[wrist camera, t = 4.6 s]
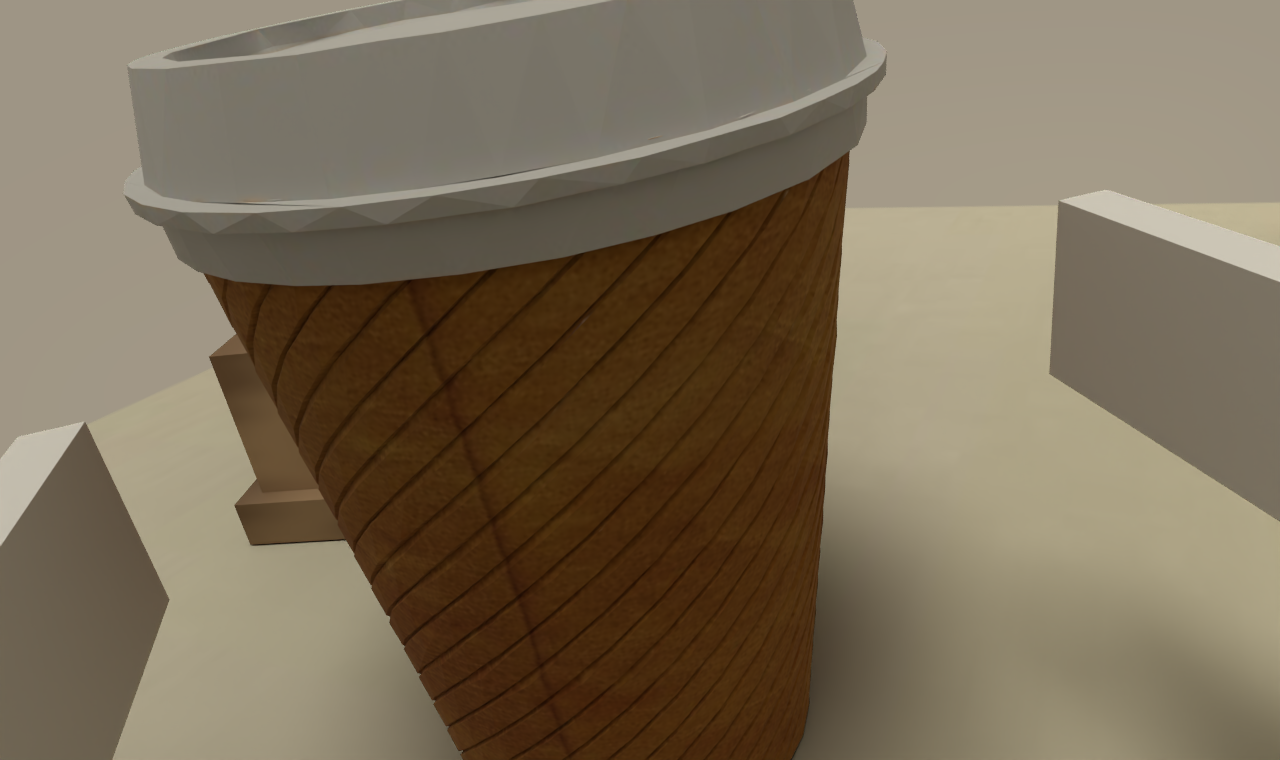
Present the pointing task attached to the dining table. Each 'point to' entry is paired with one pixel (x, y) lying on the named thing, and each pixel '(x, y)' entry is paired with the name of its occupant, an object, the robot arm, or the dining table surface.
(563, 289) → the disposable coffee cup
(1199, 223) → the robot arm
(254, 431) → the plinth
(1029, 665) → the dining table surface
